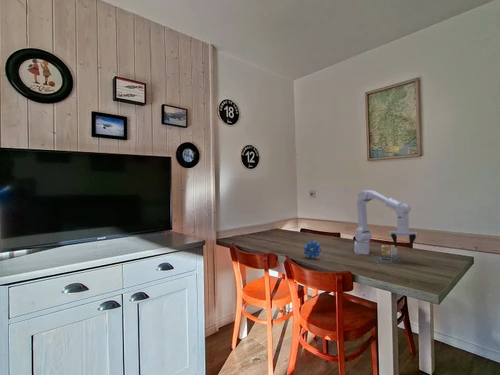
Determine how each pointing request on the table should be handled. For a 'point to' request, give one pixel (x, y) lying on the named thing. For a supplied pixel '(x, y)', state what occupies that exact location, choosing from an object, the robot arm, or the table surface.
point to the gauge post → (393, 252)
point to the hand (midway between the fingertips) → (403, 247)
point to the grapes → (312, 249)
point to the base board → (384, 259)
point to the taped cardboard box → (385, 250)
